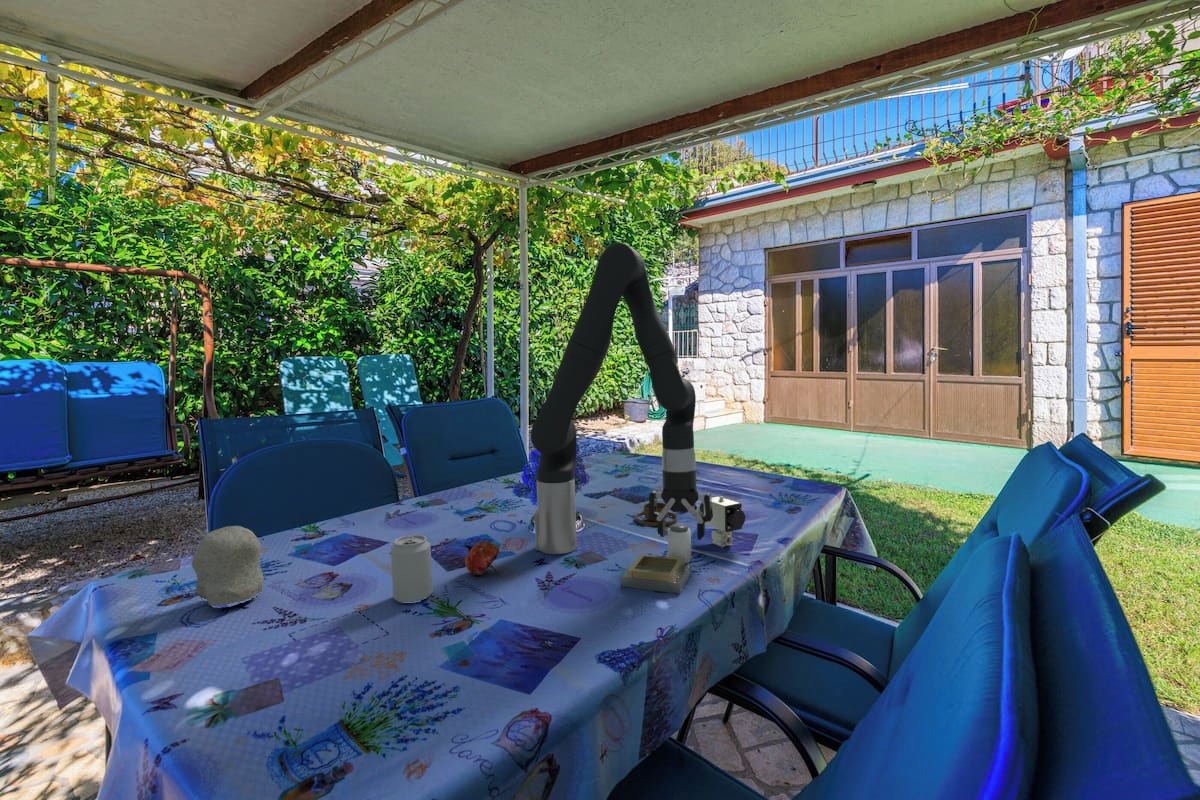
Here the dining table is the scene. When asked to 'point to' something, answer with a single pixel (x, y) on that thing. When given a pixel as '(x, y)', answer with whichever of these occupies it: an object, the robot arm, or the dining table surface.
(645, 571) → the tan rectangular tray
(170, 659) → the dining table surface
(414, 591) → the can
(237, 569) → the stone
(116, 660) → the dining table surface
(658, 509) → the place setting
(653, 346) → the robot arm
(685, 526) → the white plastic jar
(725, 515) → the pneumatic valve
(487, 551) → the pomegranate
